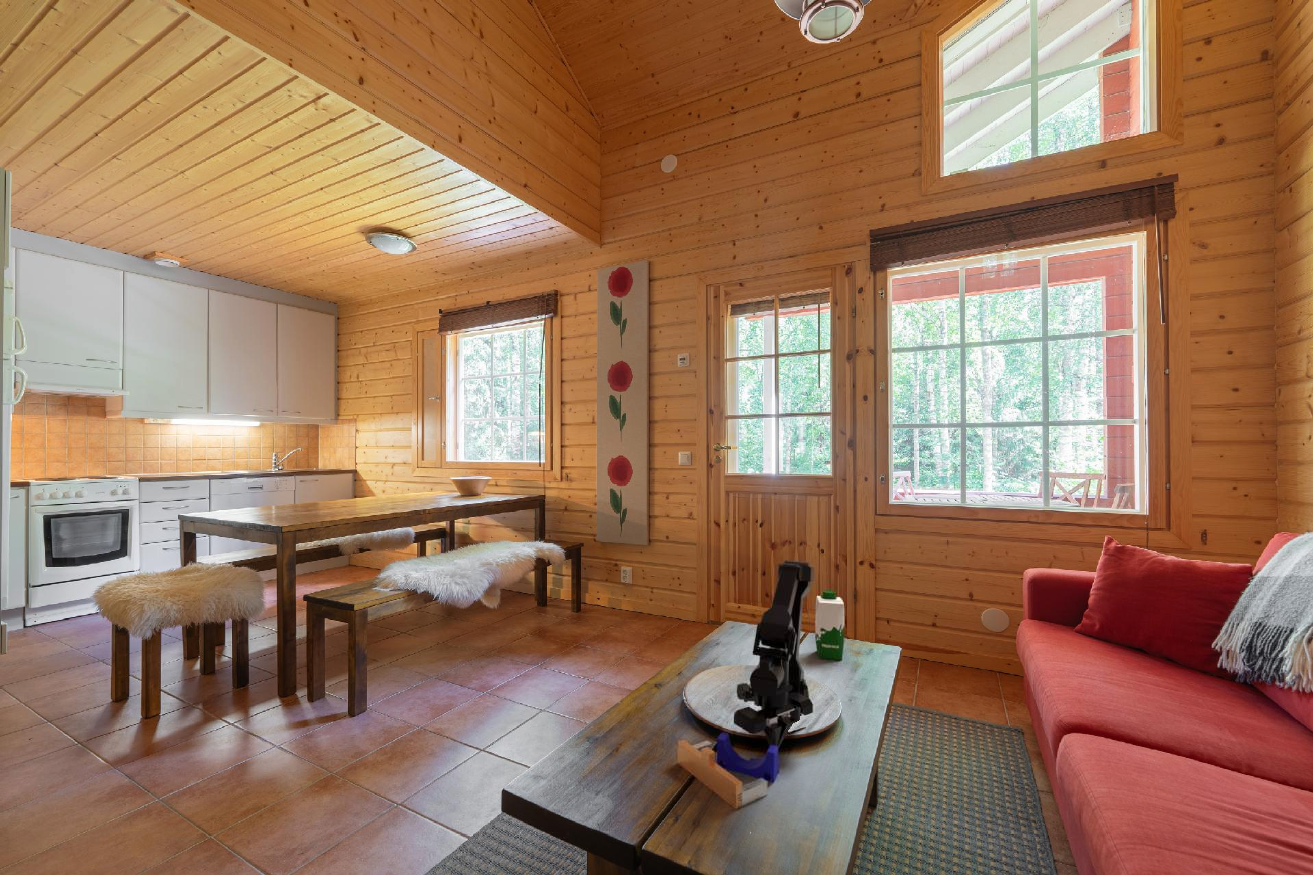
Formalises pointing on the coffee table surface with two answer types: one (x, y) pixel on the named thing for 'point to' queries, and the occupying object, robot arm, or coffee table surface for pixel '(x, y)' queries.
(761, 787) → the keeper
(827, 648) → the milk carton
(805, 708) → the robot arm
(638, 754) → the coffee table surface
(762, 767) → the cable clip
